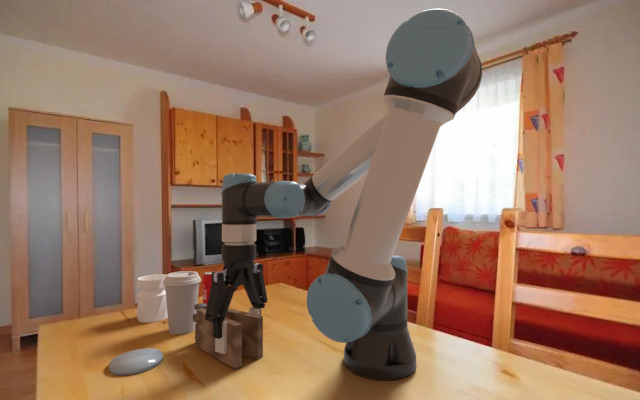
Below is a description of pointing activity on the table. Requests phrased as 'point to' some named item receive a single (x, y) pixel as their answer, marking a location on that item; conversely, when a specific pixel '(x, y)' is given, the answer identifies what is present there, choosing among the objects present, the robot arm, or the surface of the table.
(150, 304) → the vase
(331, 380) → the table surface
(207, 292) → the beverage can
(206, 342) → the tongs hinged jaw
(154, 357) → the grey domed disc
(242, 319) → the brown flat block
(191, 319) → the coffee cup
